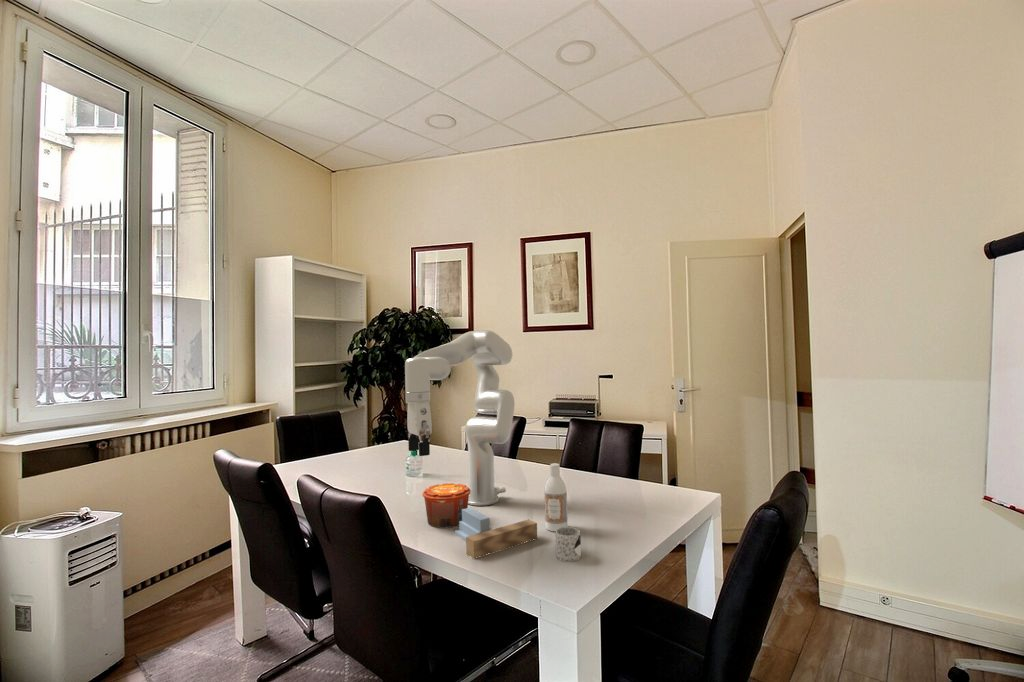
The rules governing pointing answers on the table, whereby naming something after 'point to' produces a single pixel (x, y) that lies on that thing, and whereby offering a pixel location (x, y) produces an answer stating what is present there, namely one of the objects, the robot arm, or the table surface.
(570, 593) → the table surface
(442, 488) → the food container
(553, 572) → the table surface
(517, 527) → the light brown wooden bar
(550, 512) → the bath foam
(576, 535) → the mug
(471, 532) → the light blue stepped block
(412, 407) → the robot arm
